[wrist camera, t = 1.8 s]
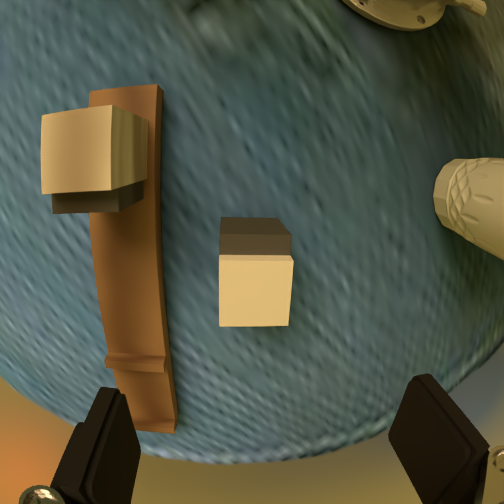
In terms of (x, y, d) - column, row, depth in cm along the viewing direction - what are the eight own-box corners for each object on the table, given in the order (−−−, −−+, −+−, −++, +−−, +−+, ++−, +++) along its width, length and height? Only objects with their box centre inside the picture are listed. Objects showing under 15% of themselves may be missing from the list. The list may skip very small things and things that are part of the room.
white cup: (489, 224, 25) (561, 252, 16) (433, 247, 25) (507, 289, 16) (479, 145, 23) (559, 153, 13) (419, 161, 23) (504, 171, 14)
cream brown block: (275, 215, 24) (295, 239, 17) (272, 281, 25) (287, 325, 18) (221, 214, 23) (219, 238, 17) (220, 281, 25) (219, 326, 18)
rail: (162, 89, 20) (126, 54, 12) (178, 412, 29) (168, 483, 20) (100, 95, 20) (38, 71, 11) (131, 408, 28) (111, 476, 20)
